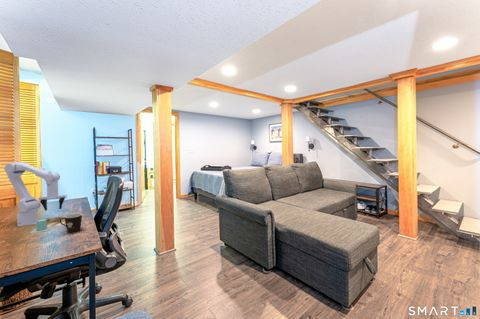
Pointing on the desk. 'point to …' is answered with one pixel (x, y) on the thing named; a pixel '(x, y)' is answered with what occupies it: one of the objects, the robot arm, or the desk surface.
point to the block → (41, 224)
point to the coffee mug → (72, 223)
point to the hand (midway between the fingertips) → (53, 209)
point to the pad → (41, 230)
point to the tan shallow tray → (55, 221)
